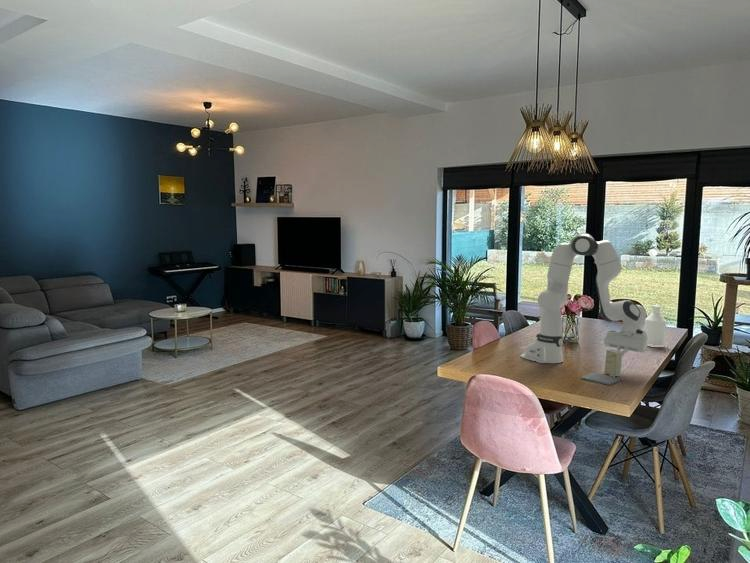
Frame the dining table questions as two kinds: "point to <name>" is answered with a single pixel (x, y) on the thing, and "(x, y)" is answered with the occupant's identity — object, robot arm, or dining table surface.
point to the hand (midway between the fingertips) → (619, 355)
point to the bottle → (655, 327)
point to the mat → (601, 378)
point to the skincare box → (613, 362)
